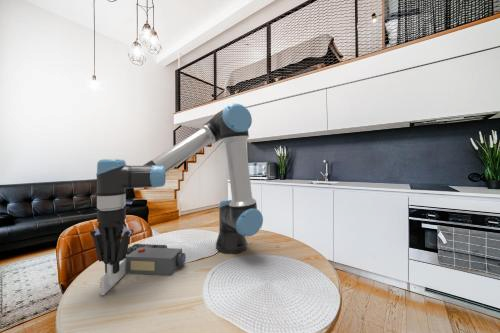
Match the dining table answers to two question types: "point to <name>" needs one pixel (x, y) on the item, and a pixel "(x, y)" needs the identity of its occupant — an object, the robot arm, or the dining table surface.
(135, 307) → the dining table surface
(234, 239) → the robot arm
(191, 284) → the dining table surface
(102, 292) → the side door
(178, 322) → the dining table surface
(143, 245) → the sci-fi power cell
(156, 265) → the camera body
